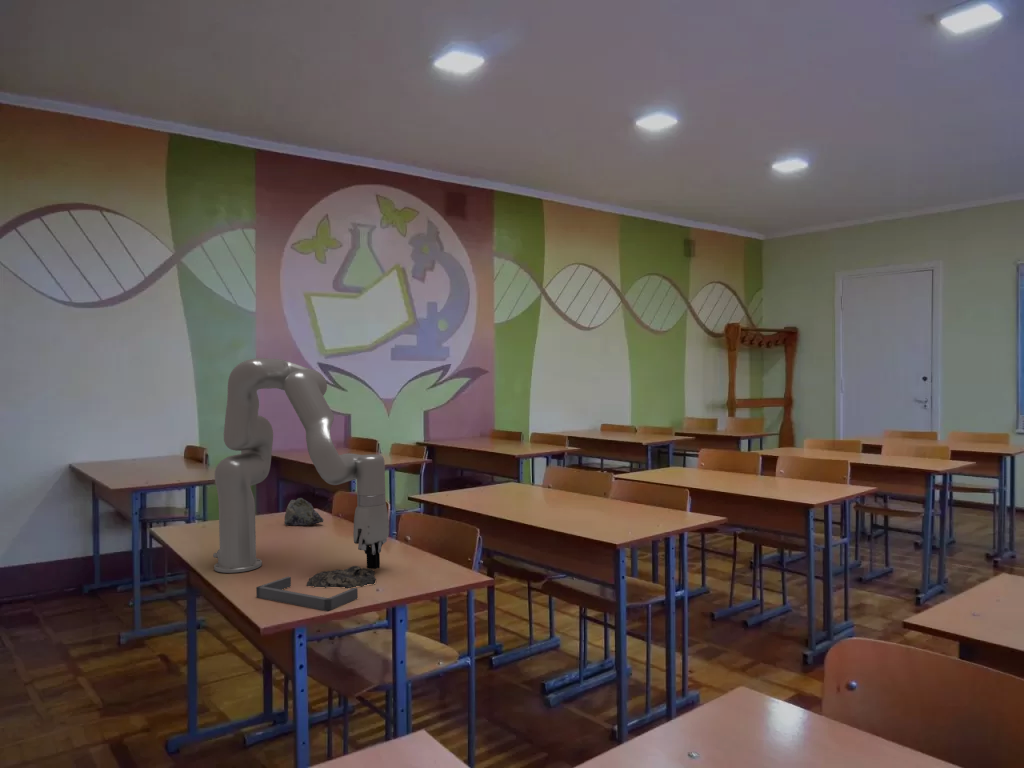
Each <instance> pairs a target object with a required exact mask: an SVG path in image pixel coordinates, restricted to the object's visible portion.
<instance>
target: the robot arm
mask: <svg viewBox="0 0 1024 768" xmlns="http://www.w3.org/2000/svg"><path fill="white" fill-rule="evenodd" d="M263 389H264V390H265V389H266V390H267V389H279V390H282V391H284V393H285V395H286V396H287V398H288V400H289V402H290V404H291V406H292V408H293V409H294V412H295V413H296V414H297V417H298V418H299V421H300V422H301V424H302V426H303V428H304V430H305V440H306V447H307V452H308V455H309V458H310V459H311V462H312V464H313V466H314V467H315V470H316V471H317V473H318V475H319V476H320V478H321V479H322V480H323V481H324V482H326V483H327V484H329V485H332V486H337V485H338V486H339V485H341V484H345V483H347V482H350V481H353V480H356V495H357V496H356V498H357V501H356V502H357V503H356V504H357V506H356V507H355V510H354V511H355V512H354V515H353V516H354V517H353V532H352V533H353V543H354V544H355V545H357V546H358V547H357V549H358V550H359V551H364V554H365V555H366V568H367V569H372V570H377V569H379V568H380V567H381V559H380V558H381V556H380V555H381V554H380V553H381V552H382V546H383V545H384V544H386V543H387V541H388V537H389V534H390V523H389V522H390V521H389V513H388V508H387V503H386V502H387V501H386V474H385V473H386V472H385V471H386V470H385V469H386V467H385V463H386V462H385V458H384V456H382V455H381V454H377V453H376V454H358V453H343V454H339V453H338V450H337V449H336V447H335V445H334V442H333V441H332V440H333V439H332V436H331V434H332V433H331V429H332V425H333V422H334V420H335V415H334V413H333V411H332V410H331V408H330V406H329V404H328V402H327V400H326V399H325V397H324V395H325V394H326V392H327V391H328V390H327V389H328V383H327V380H326V378H325V376H323V374H322V373H321V372H319V371H317V370H314V369H313V368H309V367H306V366H303V365H300V364H297V363H294V362H290V361H288V360H284V359H282V358H281V359H280V358H267V357H266V358H265V357H263V358H262V357H261V358H259V357H258V358H257V357H256V358H249V359H247V360H244V361H241V362H239V363H238V364H236V366H234V368H232V370H231V372H230V374H229V377H228V380H227V399H226V400H227V401H226V407H225V417H224V427H223V441H224V445H225V446H226V447H227V448H228V449H230V450H231V451H235V452H236V451H237V452H238V451H240V453H239V454H233V455H230V456H227V457H225V458H223V459H222V460H220V461H219V463H218V464H217V465H216V467H215V470H214V482H215V487H216V491H217V497H218V498H217V500H218V527H219V531H218V532H219V537H218V538H219V549H218V550H216V552H214V553H213V555H212V557H213V558H215V559H217V562H216V563H215V564H214V565H213V568H214V569H213V570H214V571H215V572H217V573H222V574H223V573H224V574H226V573H227V574H235V573H237V574H238V573H244V572H248V571H253V570H255V569H259V568H261V566H263V561H262V560H261V559H260V558H257V545H256V543H257V540H256V537H257V531H256V503H255V497H254V494H253V491H252V488H251V486H255V485H257V484H259V483H263V481H265V479H266V478H267V477H268V476H269V473H270V470H271V466H272V465H271V462H272V456H273V455H272V454H273V453H272V452H273V445H274V444H273V443H274V430H273V426H272V424H271V423H270V421H269V420H268V419H267V418H266V417H264V416H262V415H259V410H260V409H259V408H260V400H259V396H258V390H263Z"/></svg>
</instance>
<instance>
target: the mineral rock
mask: <svg viewBox="0 0 1024 768" xmlns="http://www.w3.org/2000/svg"><path fill="white" fill-rule="evenodd" d="M283 522H284V524H285V525H286V526H310V525H316V524H319V523H324V518H323V517H322V516H321V514H319V512H318V511H316V510H315V508H314V506H313V505H312V503H310V502H309V501H307V500H306V499H304V498H303V497H297V499H291V500H290V501H289V502H288V505H287V507H286V509H285V514H284V521H283Z"/></svg>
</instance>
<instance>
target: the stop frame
mask: <svg viewBox="0 0 1024 768" xmlns="http://www.w3.org/2000/svg"><path fill="white" fill-rule="evenodd" d="M290 586H291V587H292V577H291V576H286V577H282V578H280V579H277V580H273V581H271V582H268V583H264V584H261V585H259V586H256V588H255V589H256V590H255V591H256V596H255V597H256V598H257V599H263V600H267V599H268V600H269V601H273V600H274V602H278V603H279V602H280V603H283V602H284V603H285V604H288V603H289V604H290V605H293V604H294V605H295V606H298V605H299V606H298V607H304V608H309V609H315V610H320V611H325V612H329V611H332V610H334V609H337V608H338V607H341V606H344V605H346V604H348V603H350V602H353V601H355V599H356V600H358V599H357V598H358V594H359V593H358V592H359V591H358V589H359V588H358V587H356V588H351V589H348V590H345V591H343V592H339V593H338V594H335V595H332V596H330V597H323V596H319V595H317V596H316V595H313V594H308V593H303V592H302V593H301V592H296V591H290V590H285V589H284V588H286V589H288V588H287V587H289V588H291V587H290ZM282 589H283V590H282ZM289 604H288V605H289Z"/></svg>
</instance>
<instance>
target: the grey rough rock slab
mask: <svg viewBox="0 0 1024 768" xmlns="http://www.w3.org/2000/svg"><path fill="white" fill-rule="evenodd" d="M375 575H376V572H375V570H374V569H369V568H367V567H366V568H365V567H362V568H361V566H359V565H358V566H357V565H352V566H349V567H347V568H344V569H335V570H327V571H325V570H324V571H320V572H317V573H316V574H314V575H313V576H311V577H310V578H308V581H307V582H306V587H307V586H314V587H313V588H315V587H325V588H324V589H327V588H326V587H345V588H344V589H348V588H351V587H356V586H364V585H367V584H374V583H375V580H376V581H377V578H376V576H375ZM374 585H375V584H374ZM364 587H365V586H364ZM356 588H357V587H356ZM351 589H352V588H351Z"/></svg>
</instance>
